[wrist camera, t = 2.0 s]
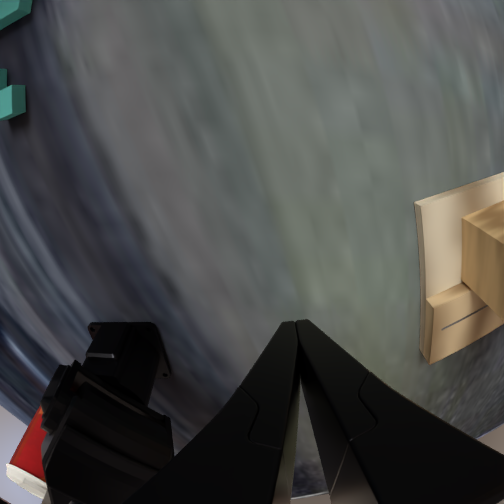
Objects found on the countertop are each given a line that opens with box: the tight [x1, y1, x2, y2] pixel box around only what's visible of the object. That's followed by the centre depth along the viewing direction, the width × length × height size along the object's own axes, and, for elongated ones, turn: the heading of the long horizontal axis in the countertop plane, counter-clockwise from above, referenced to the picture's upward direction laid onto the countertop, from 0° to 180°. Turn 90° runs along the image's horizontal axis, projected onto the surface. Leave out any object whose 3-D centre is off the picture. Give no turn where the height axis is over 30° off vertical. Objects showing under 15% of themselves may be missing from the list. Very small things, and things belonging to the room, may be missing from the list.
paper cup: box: [6, 405, 47, 499], centre depth 23 cm, size 8×8×14 cm
